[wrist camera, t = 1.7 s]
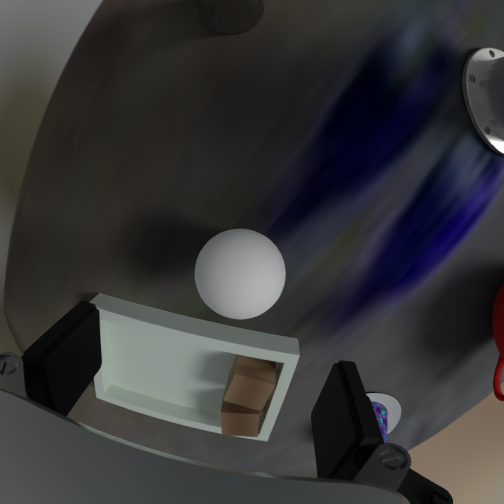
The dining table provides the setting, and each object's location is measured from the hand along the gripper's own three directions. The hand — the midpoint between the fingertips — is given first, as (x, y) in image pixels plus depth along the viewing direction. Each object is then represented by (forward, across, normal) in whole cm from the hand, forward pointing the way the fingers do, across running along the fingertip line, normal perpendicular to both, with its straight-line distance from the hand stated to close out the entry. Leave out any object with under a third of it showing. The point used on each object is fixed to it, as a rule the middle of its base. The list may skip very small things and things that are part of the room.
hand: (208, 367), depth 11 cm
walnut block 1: (+18, -3, +14) cm, 22 cm away
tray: (+18, +4, +16) cm, 25 cm away
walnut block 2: (+18, -3, +19) cm, 26 cm away
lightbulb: (+19, 0, 0) cm, 19 cm away
